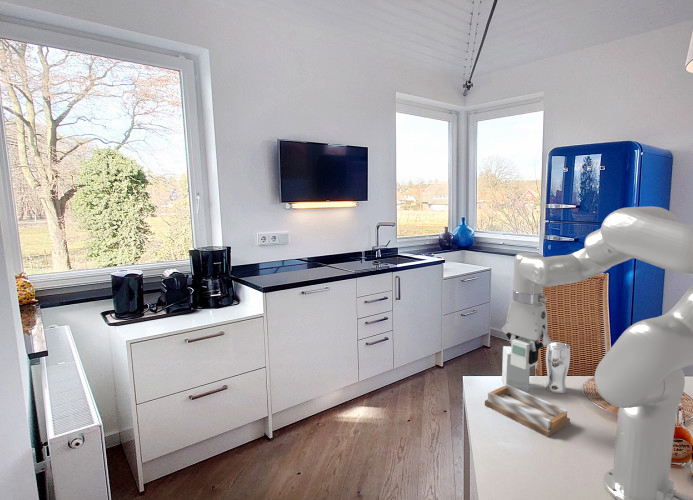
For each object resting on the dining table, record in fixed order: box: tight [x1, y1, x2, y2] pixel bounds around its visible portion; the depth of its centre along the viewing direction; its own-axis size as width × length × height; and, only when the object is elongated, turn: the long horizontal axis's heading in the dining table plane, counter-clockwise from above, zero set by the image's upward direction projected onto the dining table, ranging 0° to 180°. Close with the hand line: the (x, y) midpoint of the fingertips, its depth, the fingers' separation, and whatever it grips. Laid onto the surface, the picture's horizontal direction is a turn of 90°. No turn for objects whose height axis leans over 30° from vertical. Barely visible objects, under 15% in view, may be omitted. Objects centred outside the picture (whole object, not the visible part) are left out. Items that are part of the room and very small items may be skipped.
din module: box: [511, 337, 538, 370], centre depth 113 cm, size 4×6×7 cm
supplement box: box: [501, 345, 531, 393], centre depth 134 cm, size 7×7×13 cm
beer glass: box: [545, 341, 571, 394], centre depth 131 cm, size 7×7×15 cm
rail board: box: [484, 385, 571, 438], centre depth 117 cm, size 20×11×4 cm, turn 34°
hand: (524, 359), depth 114 cm, fingers closed on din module, 4 cm apart
